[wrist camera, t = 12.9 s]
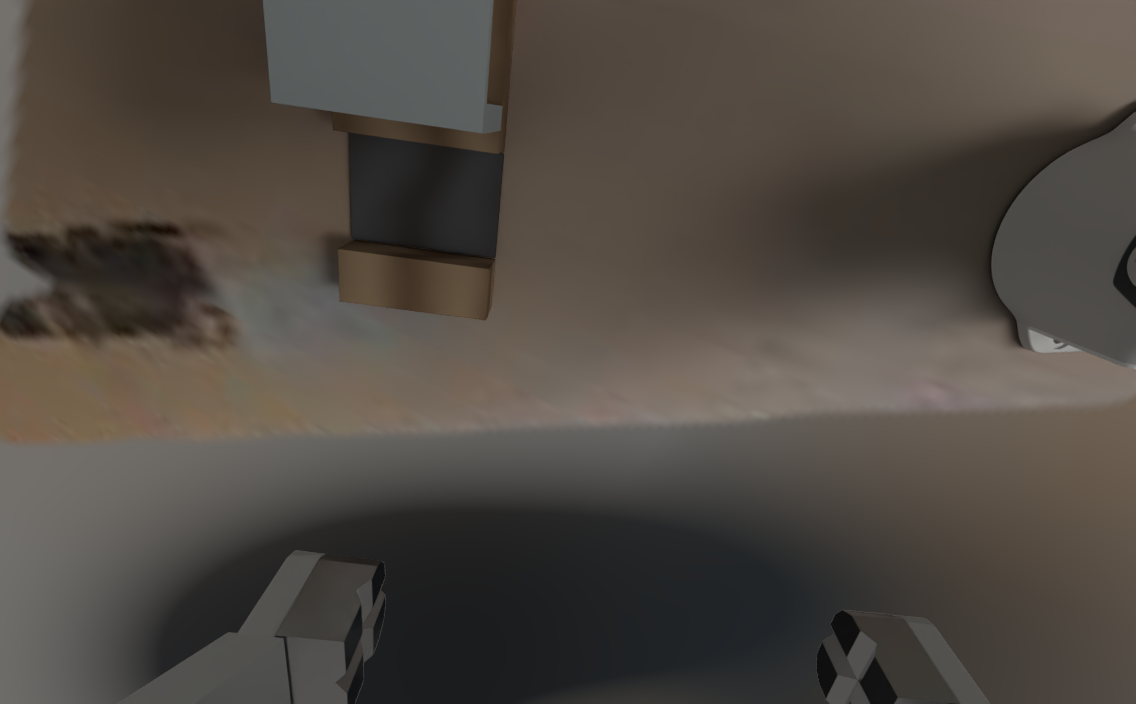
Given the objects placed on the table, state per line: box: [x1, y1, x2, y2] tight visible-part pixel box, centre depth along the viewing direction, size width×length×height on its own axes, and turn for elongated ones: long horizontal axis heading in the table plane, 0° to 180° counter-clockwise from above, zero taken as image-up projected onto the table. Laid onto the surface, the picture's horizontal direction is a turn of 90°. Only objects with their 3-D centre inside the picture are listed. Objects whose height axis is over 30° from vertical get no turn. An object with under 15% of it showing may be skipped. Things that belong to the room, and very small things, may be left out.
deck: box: [332, 0, 516, 320], centre depth 34 cm, size 11×39×3 cm, turn 172°
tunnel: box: [263, 0, 502, 134], centre depth 30 cm, size 11×9×8 cm
